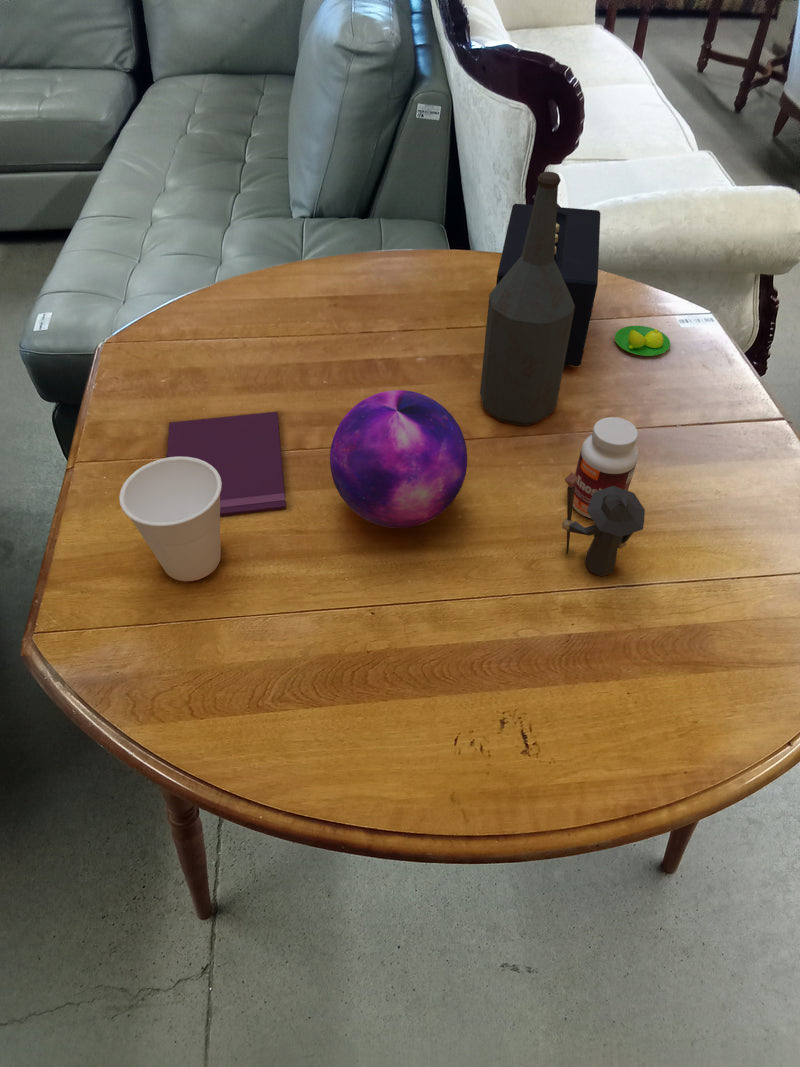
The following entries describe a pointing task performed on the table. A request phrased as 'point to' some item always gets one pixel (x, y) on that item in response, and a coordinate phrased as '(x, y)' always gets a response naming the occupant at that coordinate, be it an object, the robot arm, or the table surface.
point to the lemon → (642, 340)
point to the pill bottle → (605, 460)
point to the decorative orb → (398, 459)
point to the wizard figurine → (605, 524)
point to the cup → (177, 514)
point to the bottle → (528, 323)
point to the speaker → (564, 263)
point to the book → (236, 458)
